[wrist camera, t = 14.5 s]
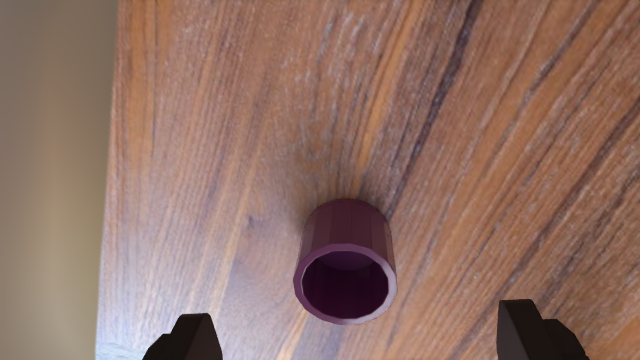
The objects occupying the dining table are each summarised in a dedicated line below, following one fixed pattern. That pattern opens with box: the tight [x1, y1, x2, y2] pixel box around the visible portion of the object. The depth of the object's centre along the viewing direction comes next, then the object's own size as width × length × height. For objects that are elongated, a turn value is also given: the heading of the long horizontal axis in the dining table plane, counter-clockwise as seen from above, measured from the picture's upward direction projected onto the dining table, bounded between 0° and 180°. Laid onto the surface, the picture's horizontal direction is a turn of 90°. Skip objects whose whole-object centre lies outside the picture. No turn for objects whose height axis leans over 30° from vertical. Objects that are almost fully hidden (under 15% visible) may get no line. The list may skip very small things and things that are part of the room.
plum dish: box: [293, 199, 397, 325], centre depth 26 cm, size 6×6×5 cm
